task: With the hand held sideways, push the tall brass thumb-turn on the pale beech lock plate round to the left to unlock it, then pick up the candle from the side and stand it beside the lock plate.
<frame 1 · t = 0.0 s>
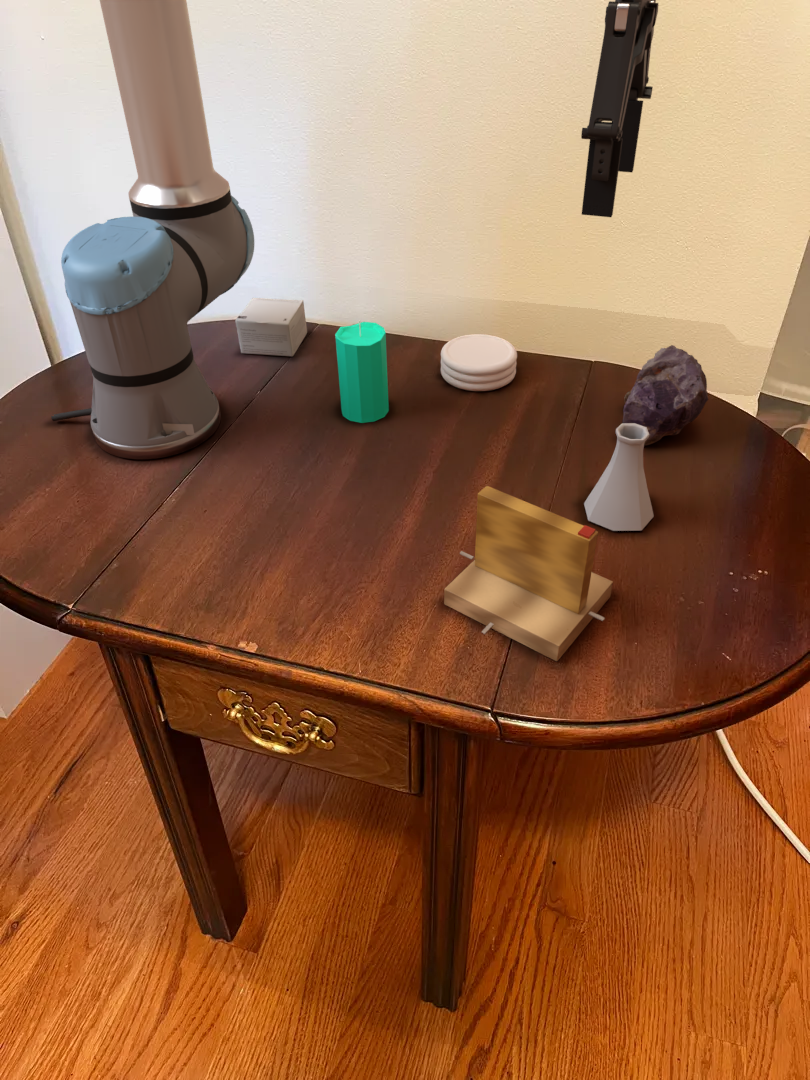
hand: (608, 191, 81), 28 cm above the table, tool pointing down, fingers open, 13 cm apart
candle: (365, 411, 105), on the table
small box: (274, 344, 119), on the table
lock plate: (527, 600, 78), on the table
rock: (657, 428, 100), on the table
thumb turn: (532, 548, 74), point 6 cm above the table, hinge at 0.0°
coaster: (477, 375, 111), on the table
flask: (617, 513, 88), on the table
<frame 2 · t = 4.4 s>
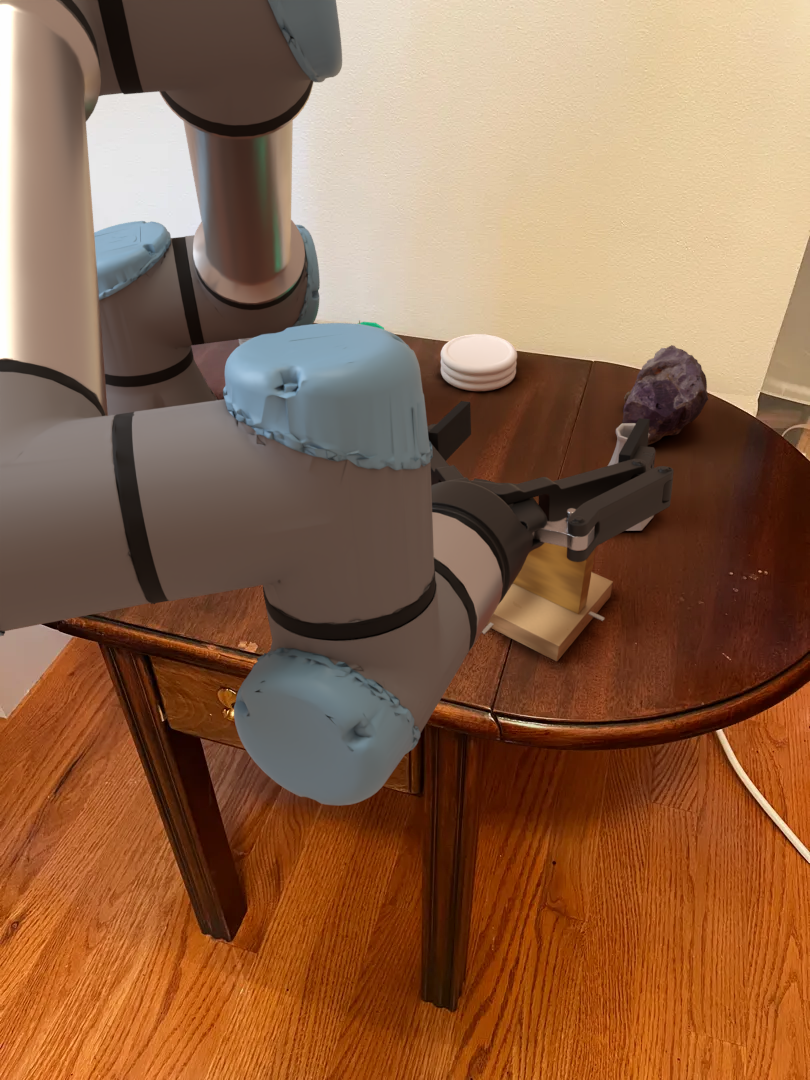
hand: (551, 426, 63), 21 cm above the table, tool horizontal, fingers open, 13 cm apart
nothing on the table moved.
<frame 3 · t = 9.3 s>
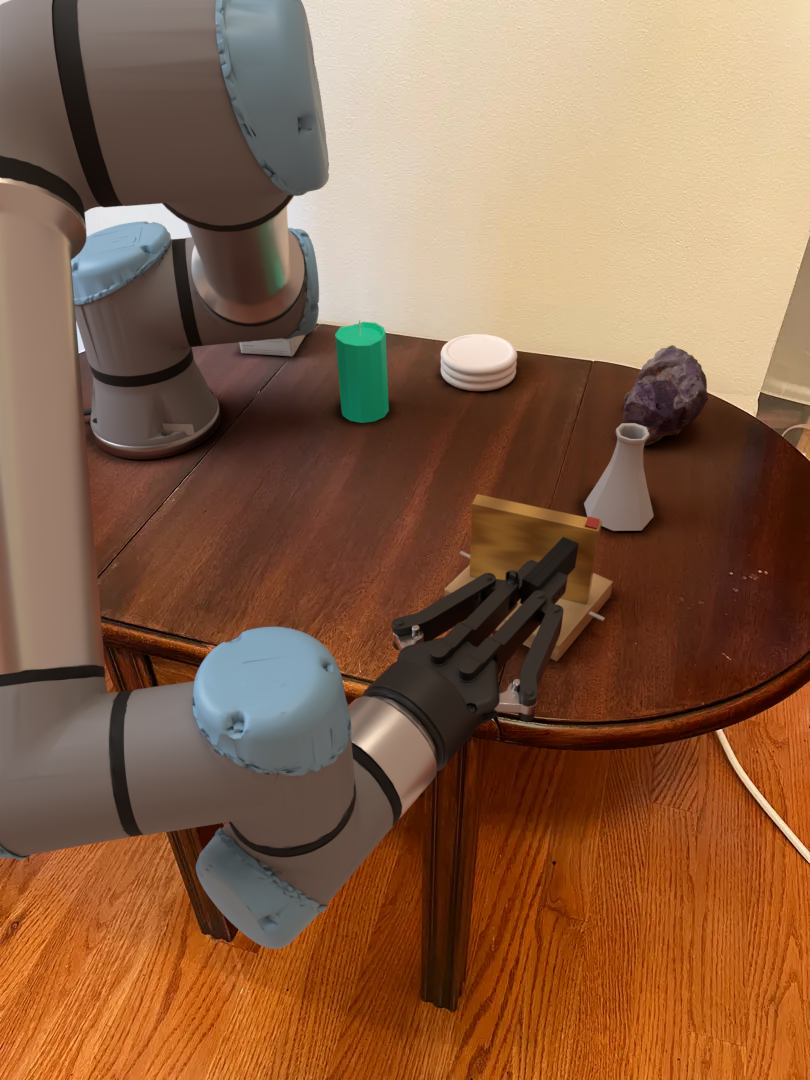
hand: (569, 552, 71), 8 cm above the table, tool horizontal, fingers closed
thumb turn: (532, 548, 74), point 6 cm above the table, hinge at 16.1°, touching gripper
everything else where it was.
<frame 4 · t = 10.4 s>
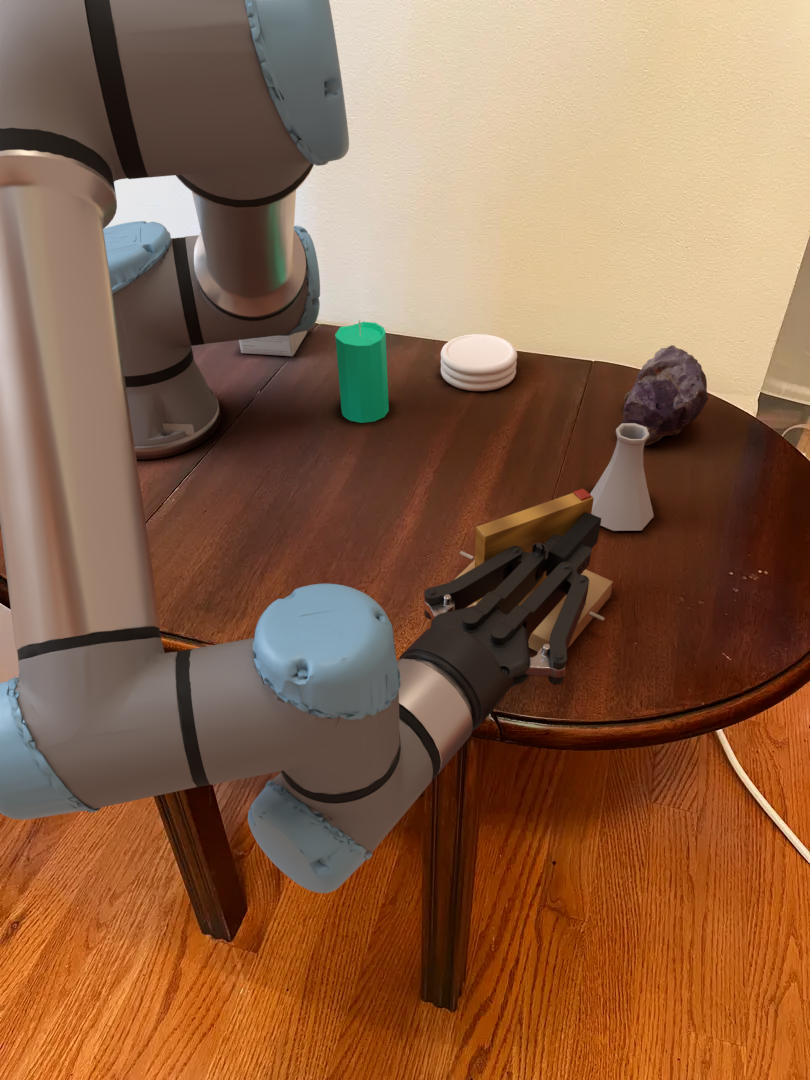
hand: (591, 527, 74), 8 cm above the table, tool horizontal, fingers closed
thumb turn: (532, 548, 74), point 6 cm above the table, hinge at 64.5°, touching gripper
everything else where it was.
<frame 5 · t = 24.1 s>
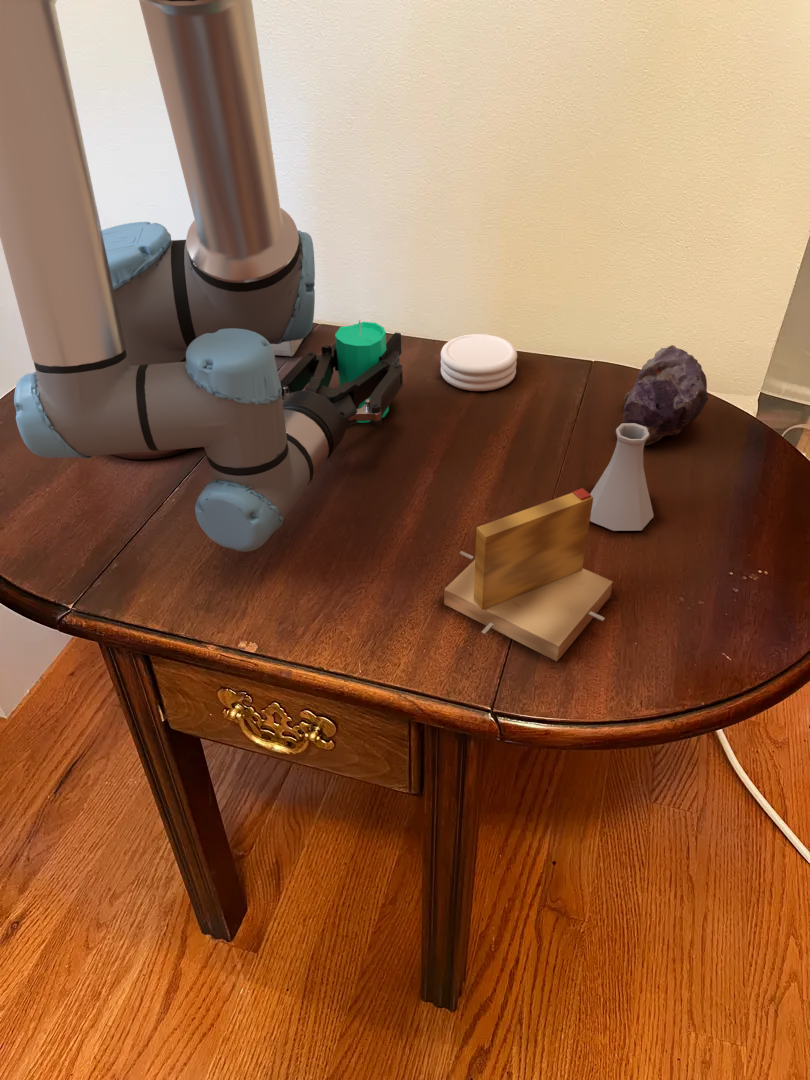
hand: (377, 340, 104), 7 cm above the table, tool horizontal, fingers closed on candle, 5 cm apart
candle: (365, 411, 105), on the table, touching gripper
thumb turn: (532, 548, 74), point 6 cm above the table, hinge at 65.1°
everything else where it was.
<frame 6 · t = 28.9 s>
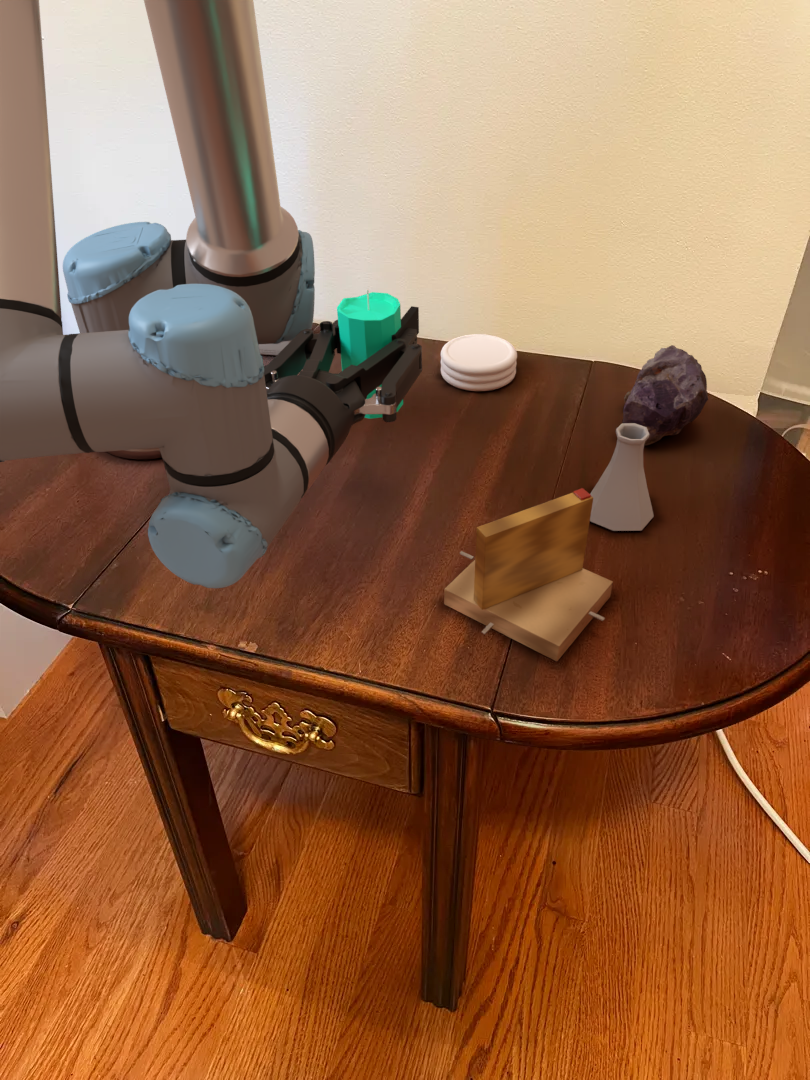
hand: (389, 316, 84), 18 cm above the table, tool horizontal, fingers closed on candle, 5 cm apart
candle: (373, 404, 85), point 11 cm above the table, touching gripper
everything else where it was.
when the fingers open (7 cm above the table, at t = 33.6 s): candle stays where it is, on the table.
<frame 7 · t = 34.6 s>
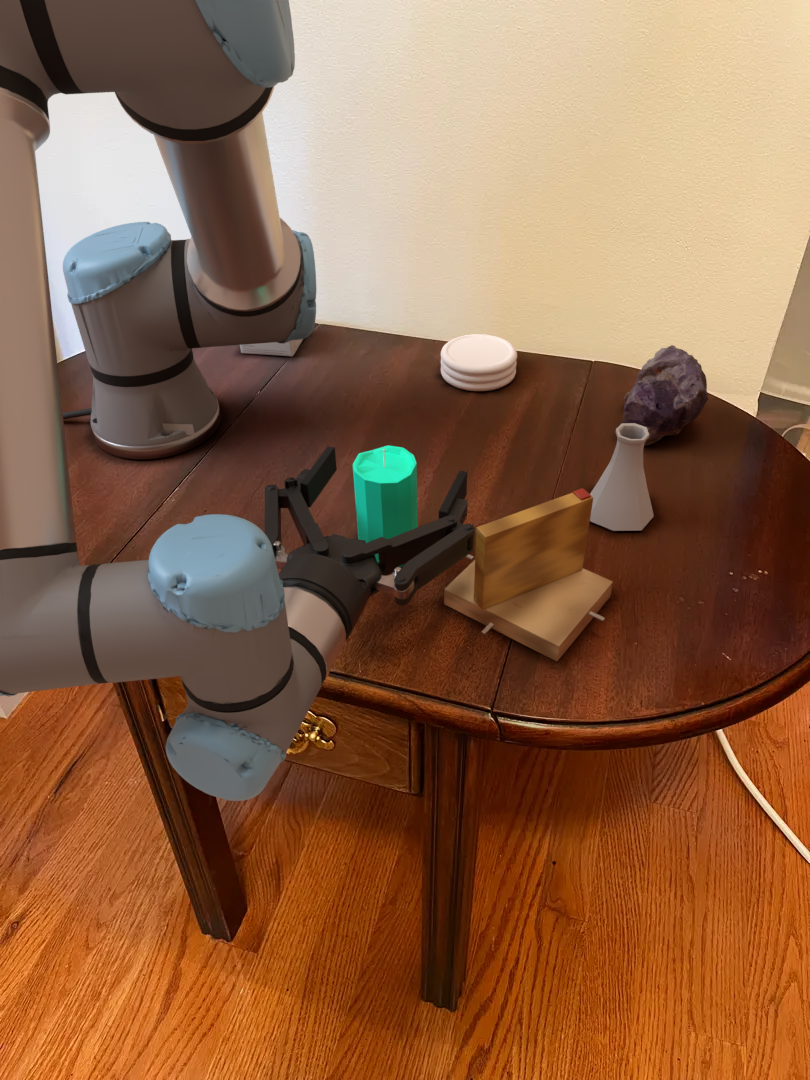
hand: (396, 469, 82), 8 cm above the table, tool horizontal, fingers open, 13 cm apart
candle: (388, 550, 84), on the table
everything else where it was.
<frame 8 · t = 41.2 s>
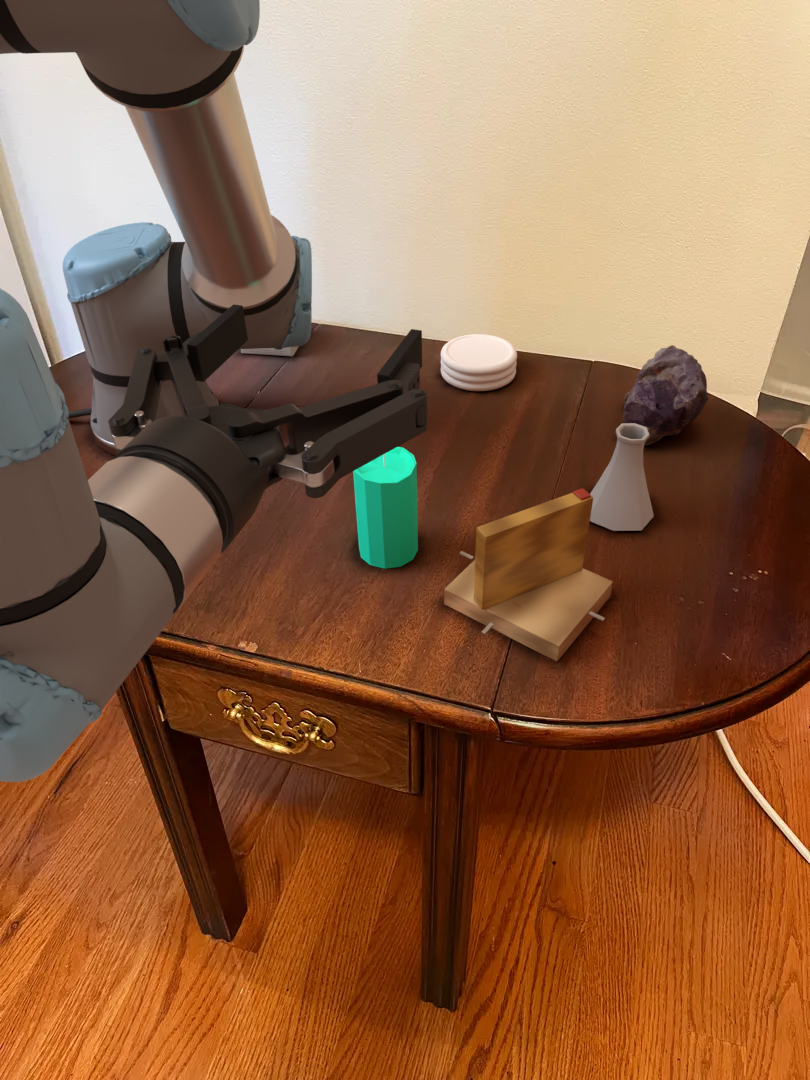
hand: (326, 334, 59), 28 cm above the table, tool horizontal, fingers open, 13 cm apart
nothing on the table moved.
at the end: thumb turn at +65° (first picture: +0°); candle inside the target area on the table beside the lock plate (0.1 cm from its centre), on the table; candle tilted 0° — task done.
